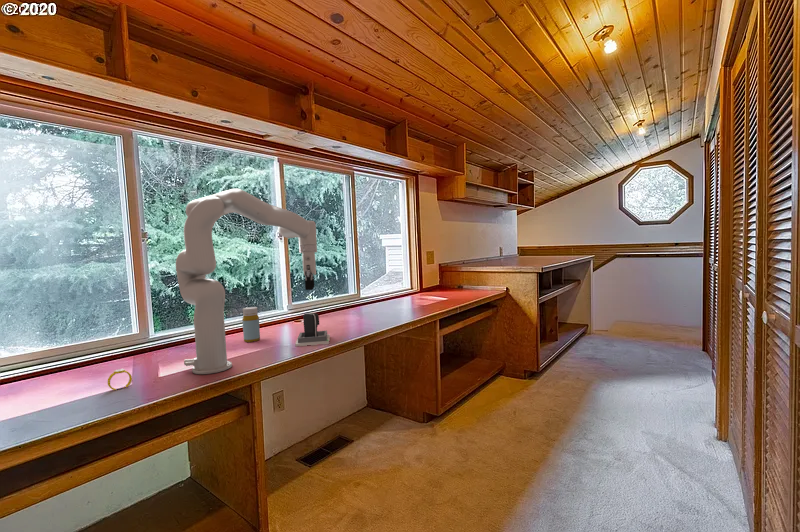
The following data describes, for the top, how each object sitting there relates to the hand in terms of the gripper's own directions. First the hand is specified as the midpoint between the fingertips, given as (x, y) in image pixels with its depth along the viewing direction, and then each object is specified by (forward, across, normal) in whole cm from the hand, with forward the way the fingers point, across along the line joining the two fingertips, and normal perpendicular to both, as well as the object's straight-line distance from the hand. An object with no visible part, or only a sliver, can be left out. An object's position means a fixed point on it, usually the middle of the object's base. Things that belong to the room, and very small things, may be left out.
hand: (310, 288), depth 172 cm
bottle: (+24, +12, +28) cm, 38 cm away
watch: (+24, -43, +56) cm, 74 cm away
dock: (+23, 0, 0) cm, 23 cm away
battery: (+22, 0, 0) cm, 22 cm away
